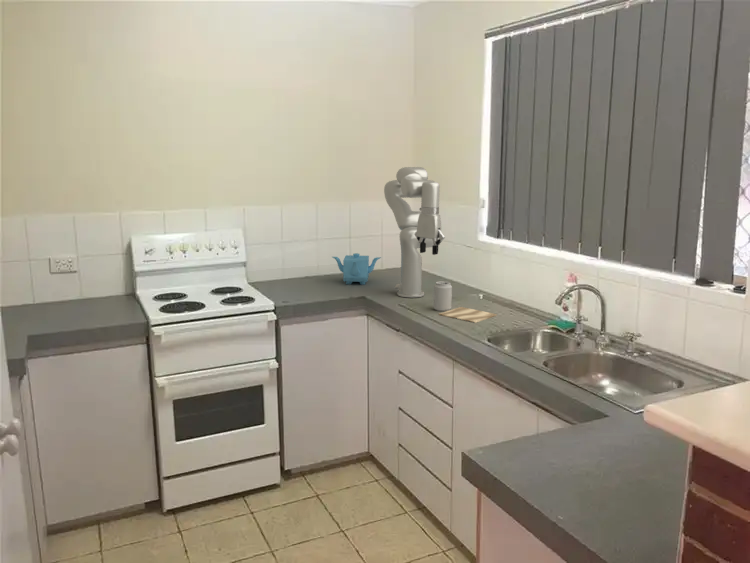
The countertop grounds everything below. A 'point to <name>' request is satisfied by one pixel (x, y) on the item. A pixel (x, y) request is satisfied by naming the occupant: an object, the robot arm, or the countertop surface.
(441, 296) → the can
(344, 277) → the teakettle
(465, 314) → the mat
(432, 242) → the robot arm
